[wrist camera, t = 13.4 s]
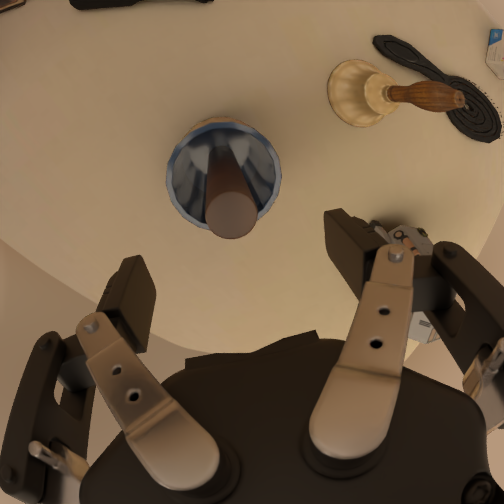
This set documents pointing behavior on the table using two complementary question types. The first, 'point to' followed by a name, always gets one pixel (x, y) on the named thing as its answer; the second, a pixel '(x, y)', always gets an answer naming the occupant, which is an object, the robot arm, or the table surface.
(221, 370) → the robot arm
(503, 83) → the table surface
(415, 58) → the hairbrush
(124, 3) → the electric trimmer
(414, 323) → the figurine
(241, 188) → the stick
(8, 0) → the hardcover book
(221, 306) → the table surface
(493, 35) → the ink box
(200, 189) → the cup
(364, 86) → the hand bell
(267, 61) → the table surface
